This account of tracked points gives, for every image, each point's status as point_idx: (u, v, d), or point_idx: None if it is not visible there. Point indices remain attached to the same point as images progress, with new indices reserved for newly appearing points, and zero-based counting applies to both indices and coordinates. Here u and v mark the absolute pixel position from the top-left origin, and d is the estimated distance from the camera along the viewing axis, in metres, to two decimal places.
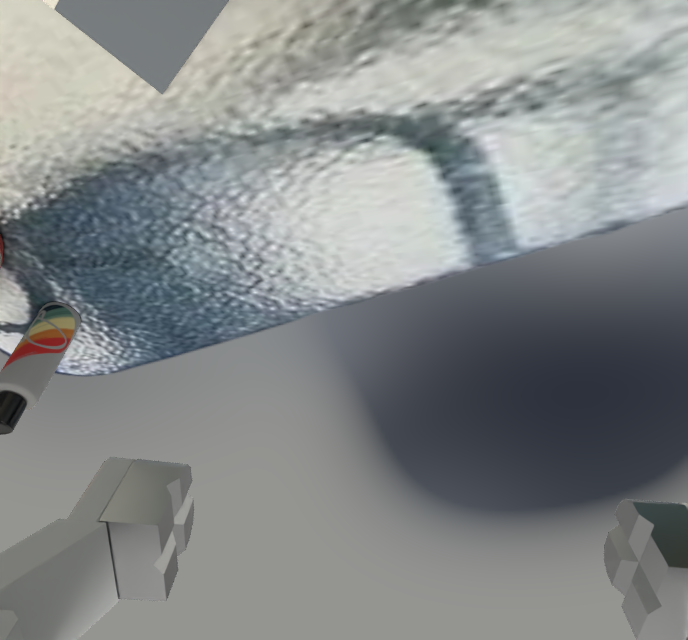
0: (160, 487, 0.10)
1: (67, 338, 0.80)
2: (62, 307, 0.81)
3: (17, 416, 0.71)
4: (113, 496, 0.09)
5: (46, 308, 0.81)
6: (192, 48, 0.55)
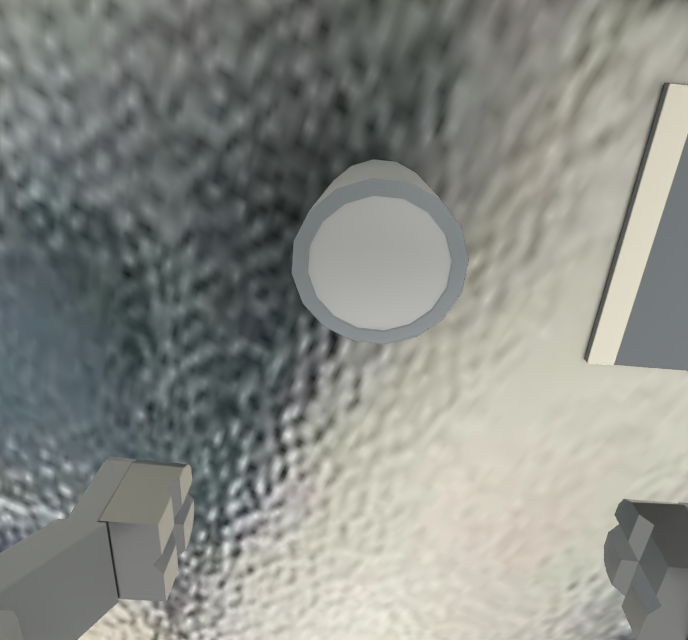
0: (160, 487, 0.10)
1: None
2: None
3: None
4: (113, 496, 0.09)
5: None
6: None
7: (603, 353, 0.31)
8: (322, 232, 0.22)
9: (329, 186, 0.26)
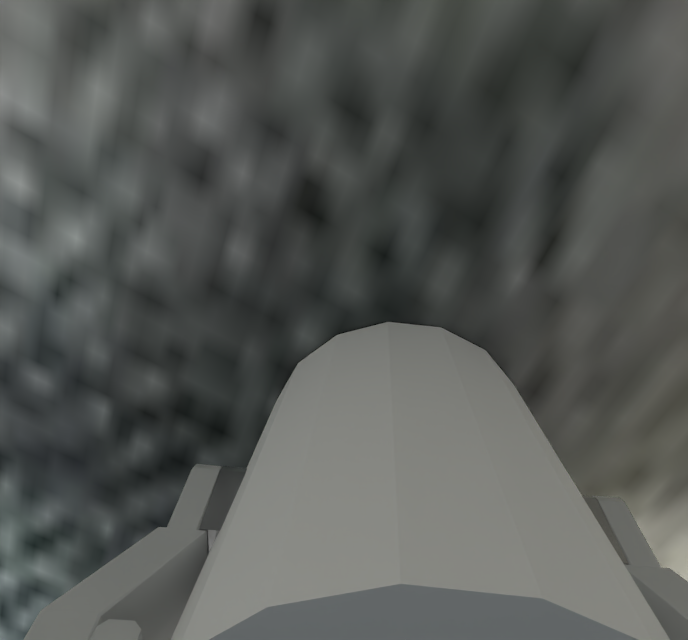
0: None
1: None
2: None
3: None
4: (208, 504, 0.09)
5: None
6: None
7: None
8: None
9: (280, 415, 0.10)
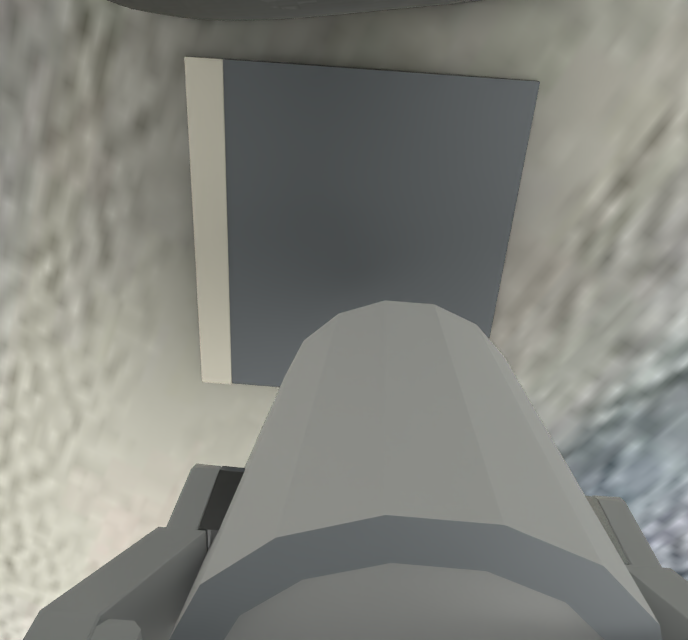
0: None
1: None
2: None
3: None
4: (208, 504, 0.09)
5: None
6: (497, 282, 0.24)
7: (217, 371, 0.27)
8: (244, 630, 0.07)
9: (287, 387, 0.11)
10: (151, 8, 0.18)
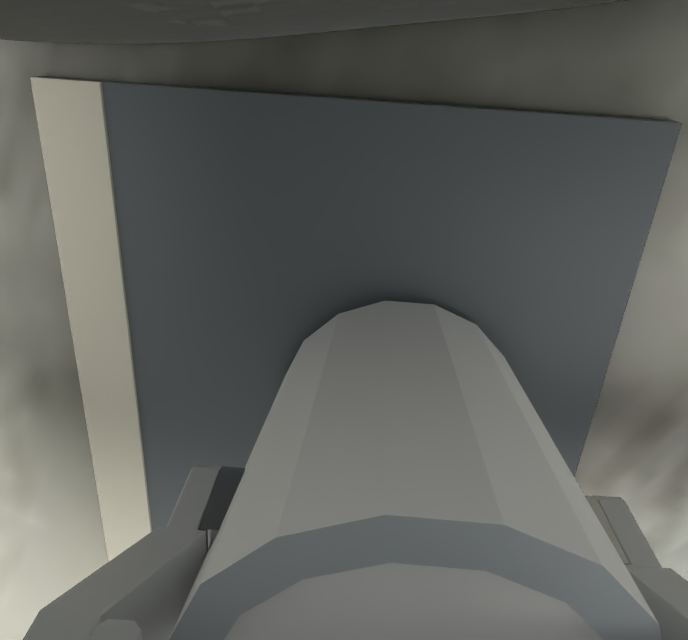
0: None
1: None
2: None
3: None
4: (208, 504, 0.09)
5: None
6: (579, 444, 0.15)
7: None
8: (245, 630, 0.07)
9: (287, 387, 0.11)
10: None
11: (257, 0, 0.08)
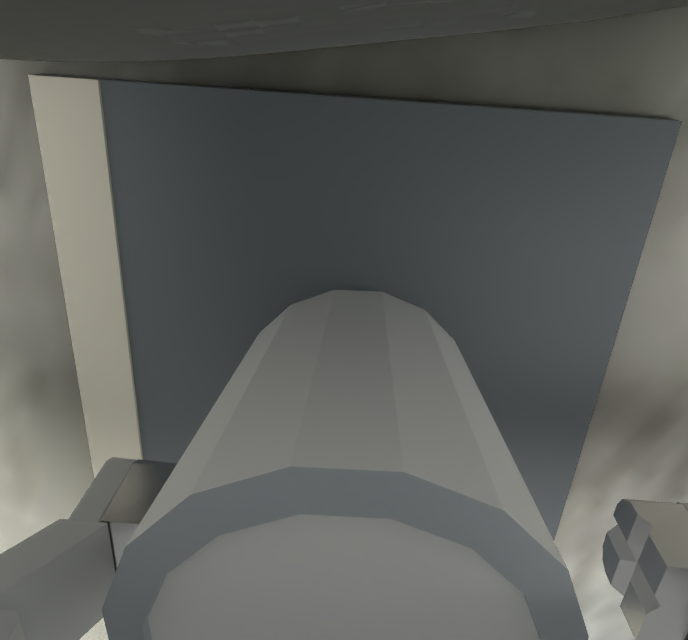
0: (161, 487, 0.10)
1: None
2: None
3: None
4: (114, 496, 0.09)
5: None
6: (579, 442, 0.15)
7: None
8: (173, 592, 0.08)
9: (236, 373, 0.12)
10: None
11: (262, 24, 0.08)
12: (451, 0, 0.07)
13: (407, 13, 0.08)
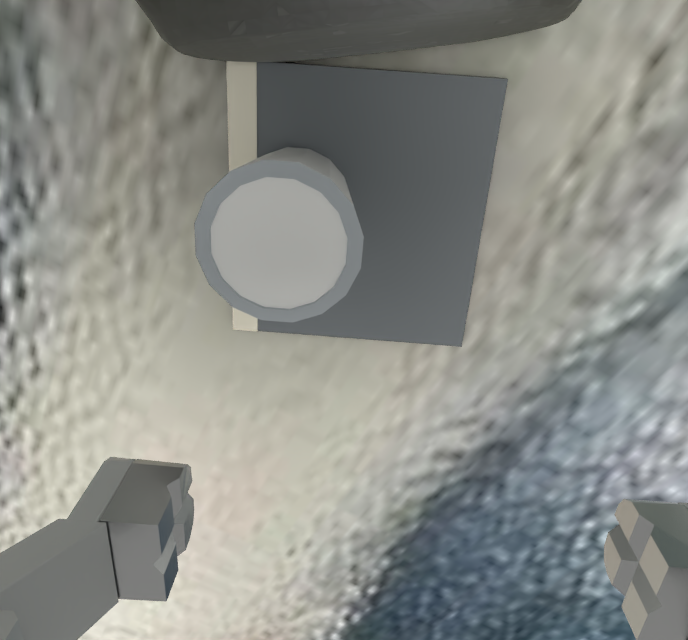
0: (160, 487, 0.10)
1: None
2: None
3: None
4: (113, 496, 0.09)
5: None
6: (477, 243, 0.30)
7: (245, 320, 0.32)
8: (221, 214, 0.22)
9: None
10: (215, 57, 0.24)
11: (339, 48, 0.23)
12: (403, 40, 0.23)
13: (389, 43, 0.23)
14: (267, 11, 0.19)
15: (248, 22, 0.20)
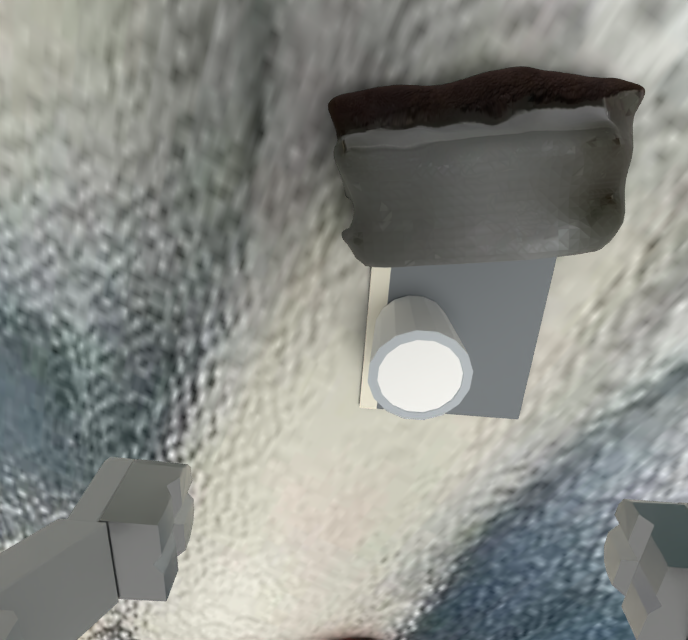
0: (160, 487, 0.10)
1: None
2: None
3: None
4: (113, 496, 0.09)
5: None
6: (532, 354, 0.44)
7: (368, 401, 0.47)
8: (386, 359, 0.37)
9: (383, 318, 0.41)
10: None
11: None
12: None
13: None
14: (428, 256, 0.34)
15: (417, 260, 0.34)
